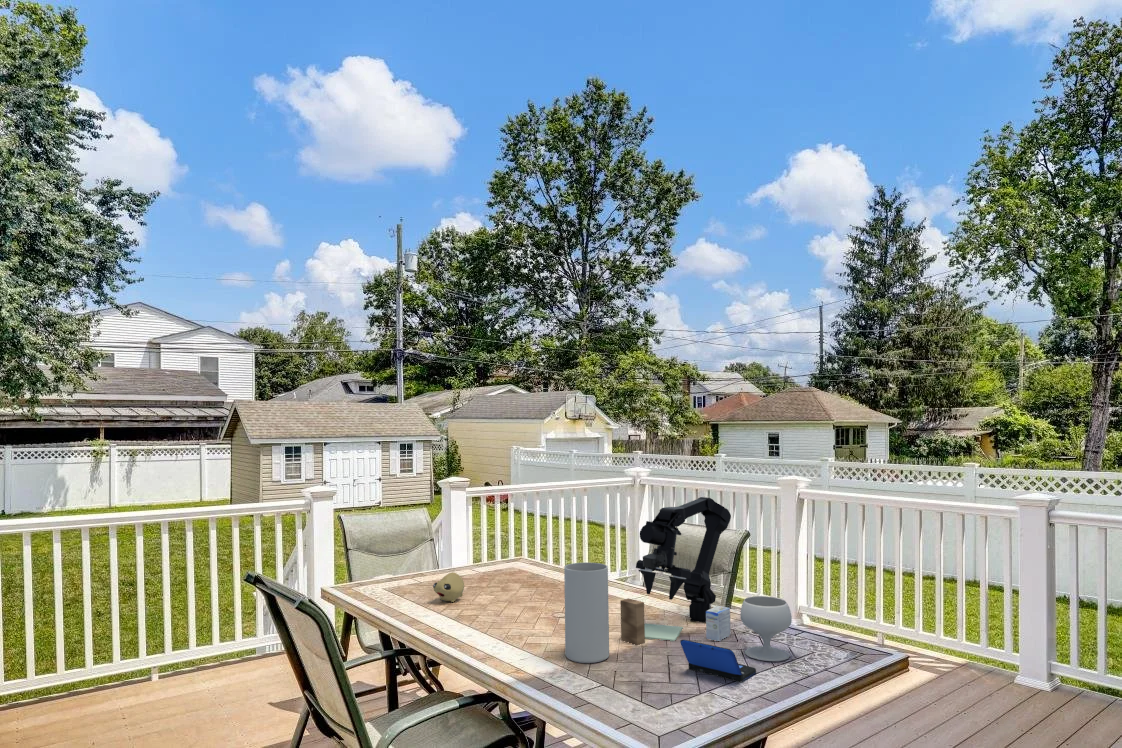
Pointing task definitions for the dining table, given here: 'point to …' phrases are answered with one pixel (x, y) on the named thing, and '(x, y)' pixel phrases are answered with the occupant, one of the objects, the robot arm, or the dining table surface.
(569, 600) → the cylinder vase
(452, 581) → the olive toy creature
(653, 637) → the mat
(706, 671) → the handheld game console
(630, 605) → the walnut slab
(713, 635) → the medicine box
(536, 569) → the dining table surface
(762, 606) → the chalice
